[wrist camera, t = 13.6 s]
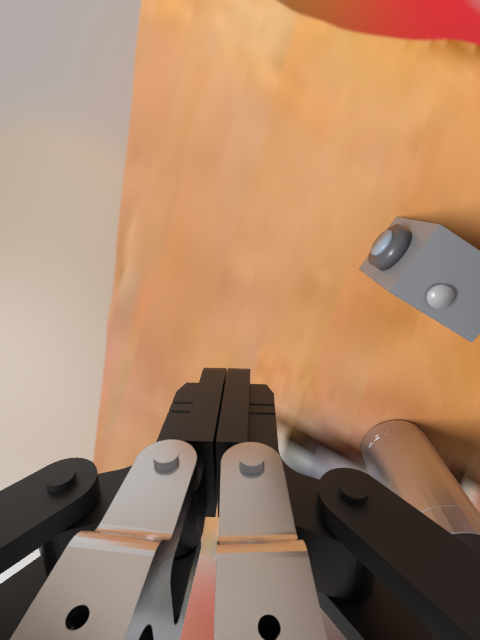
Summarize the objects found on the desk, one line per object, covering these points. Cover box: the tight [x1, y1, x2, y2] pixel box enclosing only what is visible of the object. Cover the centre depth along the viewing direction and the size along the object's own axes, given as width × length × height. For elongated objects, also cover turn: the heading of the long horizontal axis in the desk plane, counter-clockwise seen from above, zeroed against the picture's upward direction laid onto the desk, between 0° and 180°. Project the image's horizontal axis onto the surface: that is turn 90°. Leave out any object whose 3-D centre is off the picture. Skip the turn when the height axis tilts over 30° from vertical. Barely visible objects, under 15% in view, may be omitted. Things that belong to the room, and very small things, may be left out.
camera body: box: [359, 217, 480, 342], centre depth 36 cm, size 13×8×11 cm, turn 60°
